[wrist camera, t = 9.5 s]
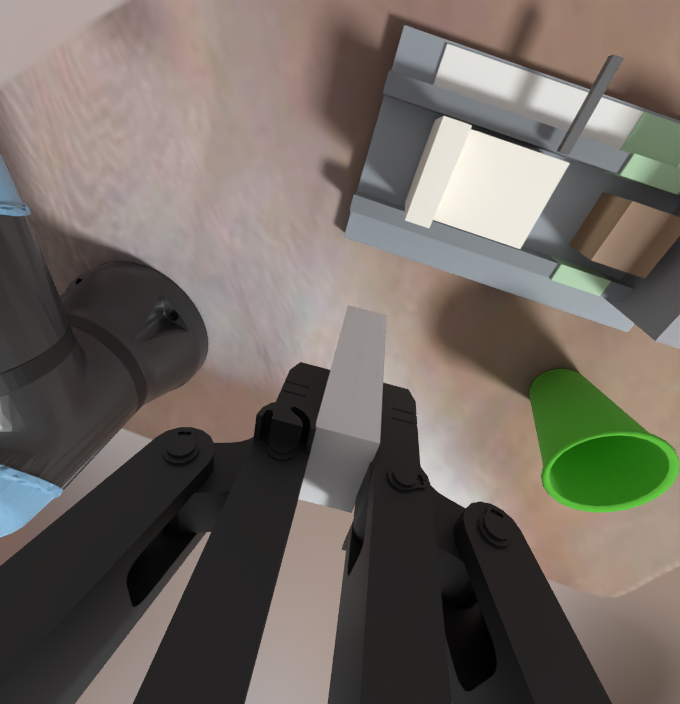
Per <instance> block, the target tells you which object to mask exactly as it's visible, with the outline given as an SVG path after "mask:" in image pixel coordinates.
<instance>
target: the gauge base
mask: <svg viewBox="0 0 680 704" xmlns="http://www.w3.org/2000/svg"><path fill="white" fill-rule="evenodd" d="M589 91H590V89H587V88H584V87H581V86H578V85H576V84H573V83H570V82H567V81H564V80H561V79H558V78H555V77H552V76H550V75H547V74H544V73H541V72H538V71H535V70H532V69H529V68H527V67H524V66H521V65H518V64H515V63H512V62H509V61H506V60H504V59H501V58H498V57H495V56H492V55H489V54H486V53H483V52H481V51H478V50H475V49H472V48H469V47H466V46H463V45H460V44H458V43H455V42H452V41H449V40H446V39H443V38H440V37H437V36H435V35H432V34H429V33H426V32H423V31H420V30H417V29H414V28H412V27H409V26H406V25H404V28H403V31H402V35H401V38H400V42H399V45H398V49H397V52H396V56H395V59H394V63H393V66H392V70H391V71H390V70H389V72H388V75H387V79H386V83H385V86H384V90H383V94H384V98H383V101H382V105H381V108H380V112H379V115H378V119H377V122H376V126H375V129H374V133H373V136H372V140H371V143H370V147H369V150H368V154H367V157H366V161H365V164H364V168H363V171H362V175H361V178H360V182H359V185H358V189H357V191H356V193H355V194H354V196H353V199H352V203H351V206H350V210H349V211H351V213H350V217H349V220H348V224H347V227H346V231H345V234H344V237H345V238H348V239H351V240H354V241H357V242H360V243H363V244H366V245H369V246H372V247H375V248H378V249H381V250H384V251H387V252H390V253H393V254H396V255H399V256H402V257H405V258H408V259H411V260H414V261H417V262H419V263H422V264H425V265H428V266H431V267H434V268H437V269H440V270H443V271H446V272H449V273H452V274H455V275H458V276H461V277H464V278H467V279H470V280H473V281H476V282H479V283H482V284H485V285H488V286H491V287H494V288H497V289H500V290H503V291H506V292H509V293H512V294H515V295H518V296H521V297H524V298H527V299H530V300H533V301H536V302H539V303H542V304H545V305H548V306H551V307H554V308H557V309H560V310H563V311H566V312H569V313H572V314H574V315H577V316H580V317H583V318H586V319H589V320H592V321H595V322H598V323H601V324H604V325H607V326H610V327H613V328H616V329H619V330H622V331H625V332H628V331H629V330H630V329H631V328H632V327H633V325H634V324H636V325H637V326H638V327H639V328H641V329H642V330H643V331H644V332H645V333H647V334H648V335H649V336H650V337H651V338H653V339H654V340H655V341H658V342H661V343H664V344H667V345H670V346H673V347H676V348H679V349H680V236H679V237H678V239H677V240H676V241H675V242H674V244H673V245H672V246H671V247H670V248H669V250H668V251H667V252H666V253H665V255H664V256H663V257H662V258H661V259H660V261H659V262H658V263H657V264H656V266H655V267H654V268H653V269H652V271H651V272H650V273H649V274H648V275H647V277H646V278H642V277H639V276H636V275H633V274H630V273H627V272H624V271H621V270H618V269H615V268H612V267H609V266H606V265H603V264H600V263H598V262H595V261H592V260H590V259H588V258H587V257H585V256H584V255H583V254H581V253H580V252H578V251H577V250H575V249H574V248H572V247H571V246H569V244H570V242H571V240H572V239H573V237H574V236H575V234H576V233H577V231H578V230H579V228H580V227H581V225H582V224H583V222H584V220H585V219H586V217H587V216H588V214H589V213H590V211H591V210H592V208H593V207H594V205H595V204H596V202H597V200H598V199H599V197H600V196H601V194H602V193H603V192H604V193H607V194H611V195H614V196H617V197H621V198H624V199H628V200H631V201H634V202H637V203H640V204H643V205H646V206H649V207H652V208H655V209H657V210H660V211H663V212H666V213H669V214H672V215H675V216H678V217H680V121H679V120H676V119H673V118H670V117H668V116H665V115H662V114H659V113H656V112H653V111H650V110H647V109H645V108H642V107H639V106H636V105H633V104H630V103H627V102H624V101H622V100H619V99H616V98H613V97H610V96H607V95H604V94H603V96H602V98H601V99H600V101H599V103H598V105H597V107H596V108H595V110H594V112H593V114H592V115H591V117H590V119H589V121H588V122H587V124H586V126H585V128H584V129H583V131H582V133H581V135H580V136H579V138H578V140H577V142H576V143H575V145H574V147H573V149H572V150H571V152H570V154H569V155H567V154H563V153H560V152H557V149H558V148H559V146H560V144H561V142H562V140H563V138H564V137H565V135H566V133H567V131H568V129H569V128H570V126H571V124H572V122H573V120H574V118H575V117H576V115H577V113H578V111H579V109H580V107H581V106H582V104H583V102H584V100H585V98H586V97H587V95H588V93H589ZM442 116H446V117H449V118H452V119H455V120H458V121H461V122H464V123H467V124H469V125H472V127H471V129H472V130H475V131H478V132H481V133H484V134H487V135H490V136H492V137H495V138H498V139H501V140H504V141H507V142H510V143H513V144H516V145H519V146H522V147H524V148H527V149H530V150H533V151H536V152H539V153H542V154H545V155H548V156H551V157H554V158H557V159H559V160H562V161H565V162H568V163H570V164H569V166H568V167H567V169H566V171H565V173H564V174H563V176H562V178H561V180H560V181H559V183H558V185H557V186H556V188H555V190H554V192H553V193H552V195H551V197H550V199H549V200H548V202H547V204H546V206H545V207H544V209H543V211H542V213H541V214H540V216H539V218H538V219H537V221H536V223H535V225H534V226H533V228H532V230H531V232H530V233H529V235H528V237H527V239H526V240H525V242H524V244H523V245H522V247H521V249H518V248H515V247H512V246H509V245H506V244H503V243H500V242H497V241H494V240H491V239H488V238H485V237H482V236H480V235H477V234H474V233H471V232H468V231H465V230H462V229H459V228H456V227H453V226H450V225H447V224H444V223H441V222H438V221H435V220H433V221H432V223H431V226H430V228H426V227H423V226H420V225H417V224H414V223H411V222H408V221H405V201H406V198H407V195H408V192H409V190H410V187H411V184H412V181H413V178H414V176H415V173H416V170H417V167H418V165H419V162H420V159H421V156H422V154H423V151H424V148H425V145H426V143H427V140H428V137H429V134H430V132H431V129H432V126H433V123H434V121H435V120H436V119H438V118H440V117H442Z"/></svg>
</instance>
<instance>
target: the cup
mask: <svg viewBox="0 0 680 704" xmlns="http://www.w3.org/2000/svg"><path fill="white" fill-rule="evenodd" d="M529 396H530V401H531V406H532V411H533V416H534V421H535V426H536V431H537V436H538V441H539V446H540V451H541V456H542V461H543V469H542V474H541V479H542V484H543V487H544V488H545V490H546V491H547V493H548V494H549V495H550V496H552V497H553V498H554V499H555V500H556V501H558V502H559V503H561V504H563V505H565V506H567V507H570V508H573V509H577V510H581V511H588V512H614V511H620V510H626V509H630V508H633V507H636V506H640V505H642V504H645V503H647V502H649V501H651V500H653V499H655V498H656V497H658V496H659V495H661V494H662V493H664V492H665V491H666V490H667V489H668V488H669V487H670V486H671V485H672V484H673V483H674V481H675V479H676V477H677V474H678V472H679V459H678V456H677V454H676V452H675V449H674V448H673V447H672V446H671V445H670V444H669V443H668V442H667V441H665V440H663V439H661V438H659V437H657V436H655V435H653V434H650V433H649V432H647V431H646V430H645V429H644V428H643V427H642V426H640V425H639V424H638V423H637V422H636V421H635V420H633V419H632V418H631V417H630V416H629V415H628V414H626V413H625V412H624V411H623V410H622V409H621V408H619V407H618V406H617V405H616V404H615V403H614V402H612V401H611V400H610V399H609V398H608V397H607V396H605V395H604V394H603V393H602V392H601V391H600V390H599V389H597V388H596V387H595V386H594V385H593V384H592V383H590V382H589V381H588V380H587V379H586V378H585V377H583V376H582V375H581V374H579V373H577V372H575V371H572V370H569V369H553V370H550V371H547V372H545V373H543V374H541V375H540V376H538V377H537V378H536V379H535V380H534V381H533V383H532V385H531V388H530V392H529Z"/></svg>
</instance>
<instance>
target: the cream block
mask: <svg viewBox="0 0 680 704" xmlns="http://www.w3.org/2000/svg"><path fill="white" fill-rule="evenodd" d="M623 59H624V58H622V57H619V56H616V55H611V56H609V57H608V58H607V60H606V62H605V64H604V66H603V67H602V69H601V71H600V73H599V75H598V76H597V78H596V80H595V82H594V84H593V86H592V87H591V89H590V91H589V93H588V95H587V97H586V98H585V100H584V102H583V104H582V106H581V107H580V109H579V111H578V113H577V115H576V117H575V118H574V120H573V122H572V124H571V126H570V128H569V129H568V131H567V133H566V135H565V137H564V138H563V140H562V142H561V144H560V146H559V148H558V149H557V152H560V153H563V154H567V155H569V154H570V152H571V150H572V149H573V147H574V145H575V143H576V142H577V140H578V138H579V136H580V135H581V133H582V131H583V129H584V128H585V126H586V124H587V122H588V121H589V119H590V117H591V115H592V114H593V112H594V110H595V108H596V107H597V105H598V103H599V101H600V99H601V98H602V96H603V94H604V92H605V91H606V89H607V87H608V85H609V84H610V82H611V80H612V78H613V77H614V75H615V73H616V71H617V70H618V68H619V66H620V64H621V63H622V61H623ZM471 127H472V125H469V124H467V123H464V122H461V121H458V120H455V119H452V118H449V117H446V116H442V117H440V118H438V119H436V120H435V121H434V123H433V126H432V129H431V132H430V134H429V137H428V140H427V143H426V145H425V148H424V151H423V154H422V156H421V159H420V162H419V165H418V167H417V170H416V173H415V176H414V178H413V181H412V184H411V187H410V190H409V192H408V195H407V198H406V201H405V221H408V222H411V223H414V224H417V225H420V226H423V227H426V228H430V226H431V223H432V221H433V220H435V221H438V222H441V223H444V224H447V225H450V226H453V227H456V228H459V229H462V230H465V231H468V232H471V233H474V234H477V235H480V236H482V237H485V238H488V239H491V240H494V241H497V242H500V243H503V244H506V245H509V246H512V247H515V248H518V249H521V247H522V245H523V244H524V242H525V240H526V239H527V237H528V235H529V233H530V232H531V230H532V228H533V226H534V225H535V223H536V221H537V219H538V218H539V216H540V214H541V213H542V211H543V209H544V207H545V206H546V204H547V202H548V200H549V199H550V197H551V195H552V193H553V192H554V190H555V188H556V186H557V185H558V183H559V181H560V180H561V178H562V176H563V174H564V173H565V171H566V169H567V167H568V166H569V164H570V163H568V162H565V161H562V160H559V159H557V158H554V157H551V156H548V155H545V154H542V153H539V152H536V151H533V150H530V149H527V148H524V147H522V146H519V145H516V144H513V143H510V142H507V141H504V140H501V139H498V138H495V137H492V136H490V135H487V134H484V133H481V132H478V131H475V130H472V129H471Z"/></svg>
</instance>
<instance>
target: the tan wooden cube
mask: <svg viewBox="0 0 680 704" xmlns="http://www.w3.org/2000/svg"><path fill="white" fill-rule="evenodd" d="M679 236H680V217H678V216H675V215H672V214H669V213H666V212H663V211H660V210H657V209H655V208H652V207H649V206H646V205H643V204H640V203H637V202H634V201H631V200H628V199H624V198H621V197H617V196H614V195H611V194H607V193H604V192H603V193H602V194H601V196H600V197H599V199H598V200H597V202H596V204H595V205H594V207H593V208H592V210H591V211H590V213H589V214H588V216H587V217H586V219H585V220H584V222H583V224H582V225H581V227H580V228H579V230H578V231H577V233H576V234H575V236H574V237H573V239H572V240H571V242H570V244H569V246H571V247H572V248H574V249H575V250H577V251H578V252H580V253H581V254H583V255H584V256H585V257H587V258H588V259H590V260H592V261H595V262H598V263H600V264H603V265H606V266H609V267H612V268H615V269H618V270H621V271H624V272H627V273H630V274H633V275H636V276H639V277H642V278H646V277H647V275H648V274H649V273H650V272H651V271H652V269H653V268H654V267H655V266H656V264H657V263H658V262H659V261H660V259H661V258H662V257H663V256H664V255H665V253H666V252H667V251H668V250H669V248H670V247H671V246H672V245H673V244H674V242H675V241H676V240H677V239H678V237H679Z"/></svg>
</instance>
